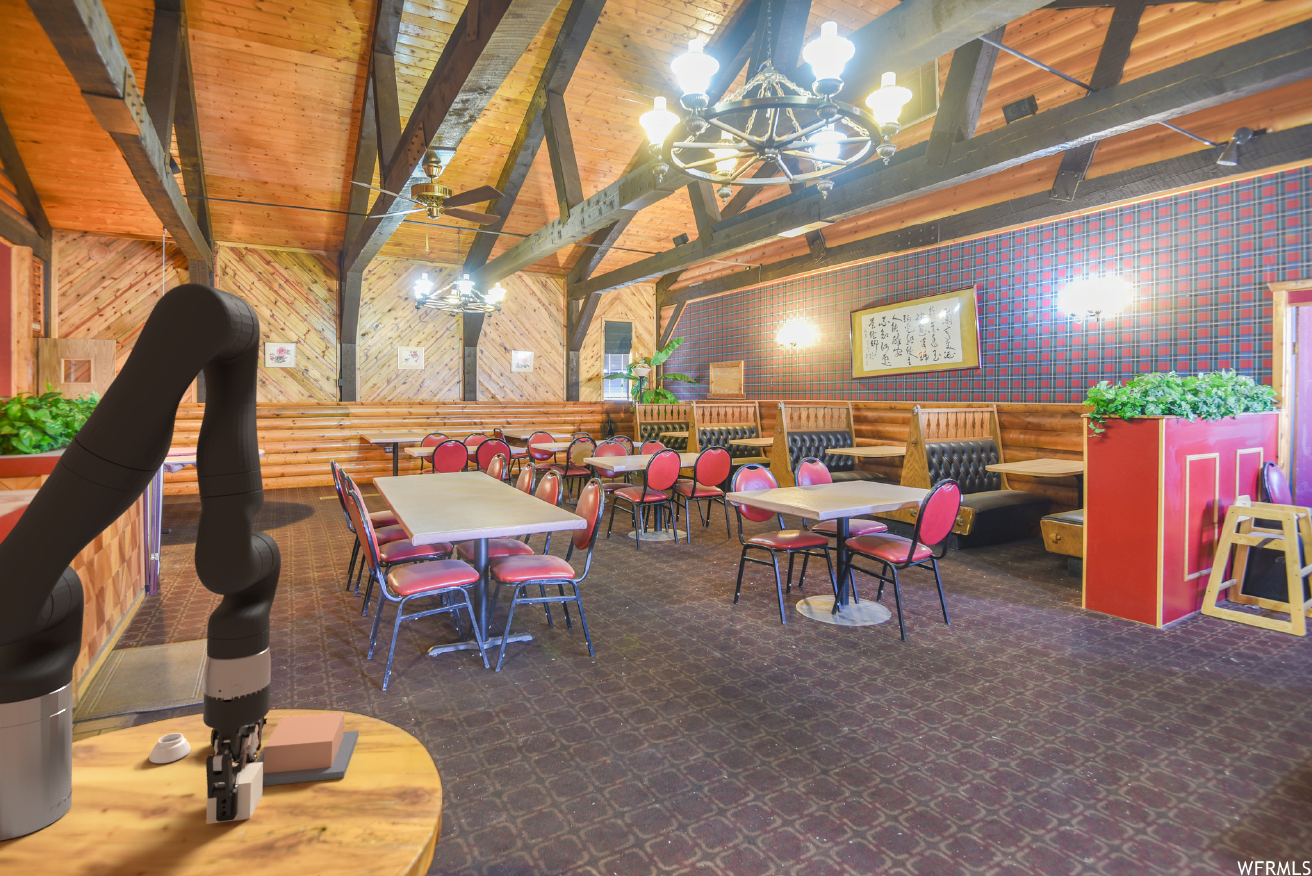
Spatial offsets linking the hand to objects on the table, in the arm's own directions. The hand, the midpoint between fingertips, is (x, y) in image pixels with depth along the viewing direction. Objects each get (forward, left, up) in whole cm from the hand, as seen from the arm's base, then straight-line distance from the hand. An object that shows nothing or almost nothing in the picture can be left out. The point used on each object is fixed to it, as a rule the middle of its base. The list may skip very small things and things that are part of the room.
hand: (235, 803), depth 86 cm
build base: (+6, +11, -1) cm, 13 cm away
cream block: (0, 0, -1) cm, 1 cm away
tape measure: (-5, +18, -1) cm, 19 cm away
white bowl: (-14, +16, -1) cm, 21 cm away
